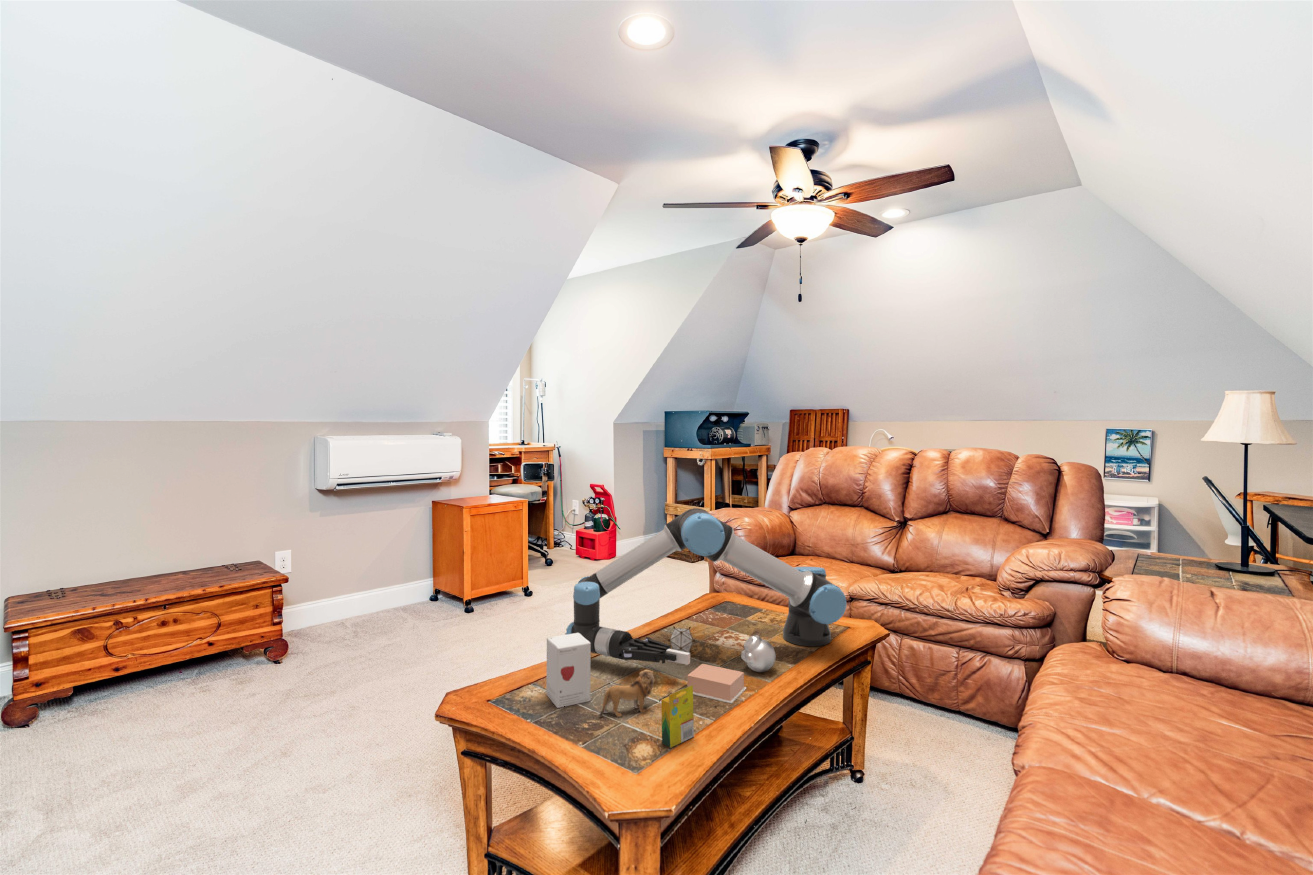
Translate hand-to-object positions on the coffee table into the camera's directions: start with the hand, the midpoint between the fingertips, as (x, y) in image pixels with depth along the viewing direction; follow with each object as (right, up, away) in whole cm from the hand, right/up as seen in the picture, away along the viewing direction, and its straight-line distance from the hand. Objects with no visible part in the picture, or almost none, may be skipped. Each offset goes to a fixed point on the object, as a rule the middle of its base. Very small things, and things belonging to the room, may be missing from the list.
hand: (688, 658), depth 164 cm
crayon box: (-4, -8, -28) cm, 30 cm away
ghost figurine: (+20, -7, +10) cm, 23 cm away
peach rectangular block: (+2, -5, 0) cm, 5 cm away
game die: (-1, -7, +23) cm, 24 cm away
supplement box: (-31, -8, -7) cm, 33 cm away
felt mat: (+7, -7, -3) cm, 11 cm away
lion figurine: (-15, -8, -14) cm, 22 cm away
